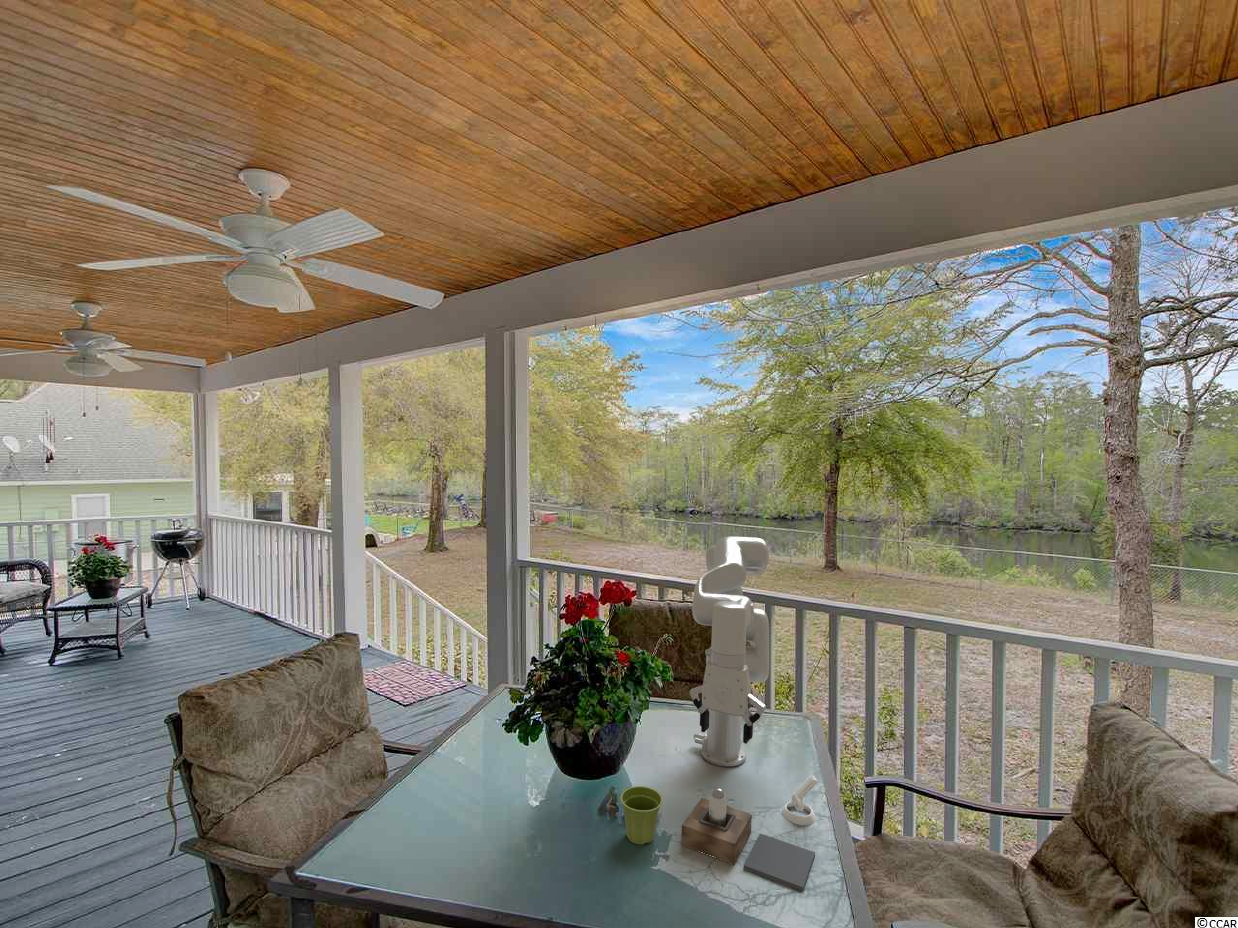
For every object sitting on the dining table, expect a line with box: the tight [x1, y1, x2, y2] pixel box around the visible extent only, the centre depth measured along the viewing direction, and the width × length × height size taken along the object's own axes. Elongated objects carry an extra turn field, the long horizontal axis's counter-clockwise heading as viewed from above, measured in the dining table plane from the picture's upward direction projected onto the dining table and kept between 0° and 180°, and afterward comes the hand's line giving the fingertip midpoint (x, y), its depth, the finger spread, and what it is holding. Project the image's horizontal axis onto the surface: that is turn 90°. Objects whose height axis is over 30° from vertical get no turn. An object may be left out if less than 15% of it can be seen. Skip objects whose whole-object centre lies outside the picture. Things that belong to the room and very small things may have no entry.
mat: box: [743, 833, 816, 892], centre depth 124 cm, size 12×12×1 cm
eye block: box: [680, 797, 753, 866], centre depth 131 cm, size 12×12×5 cm
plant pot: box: [620, 785, 663, 846], centre depth 131 cm, size 9×9×9 cm
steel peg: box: [708, 787, 728, 828], centre depth 131 cm, size 4×4×11 cm
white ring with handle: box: [781, 774, 818, 826], centre depth 140 cm, size 8×12×7 cm
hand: (725, 735), depth 130 cm, fingers open, 9 cm apart
